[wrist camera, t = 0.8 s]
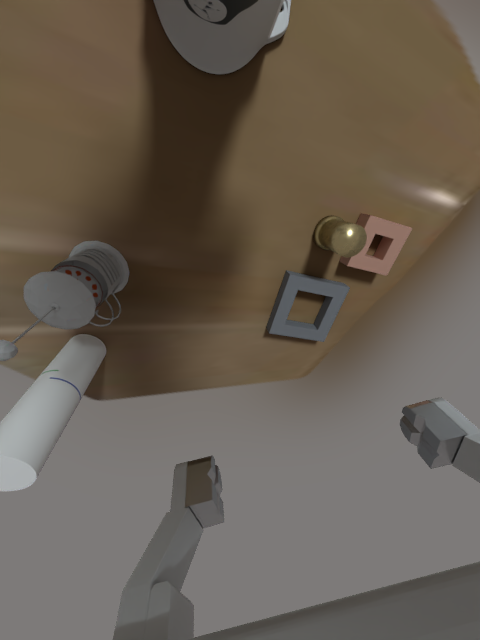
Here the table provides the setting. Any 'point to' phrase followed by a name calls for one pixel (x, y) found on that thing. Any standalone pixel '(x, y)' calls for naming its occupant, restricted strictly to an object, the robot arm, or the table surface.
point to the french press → (74, 289)
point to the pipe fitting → (340, 236)
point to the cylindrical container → (46, 411)
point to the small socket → (386, 249)
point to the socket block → (325, 317)
